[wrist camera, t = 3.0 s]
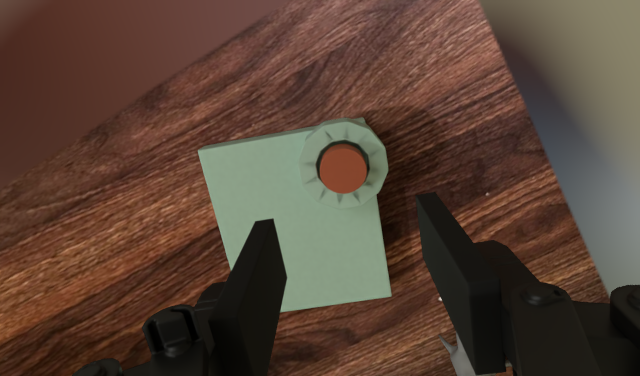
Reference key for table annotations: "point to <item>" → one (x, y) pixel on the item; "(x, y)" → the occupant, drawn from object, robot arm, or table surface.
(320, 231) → the green push button box
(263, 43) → the table surface
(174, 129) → the table surface
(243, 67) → the table surface
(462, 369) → the elephant figurine
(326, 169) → the button
